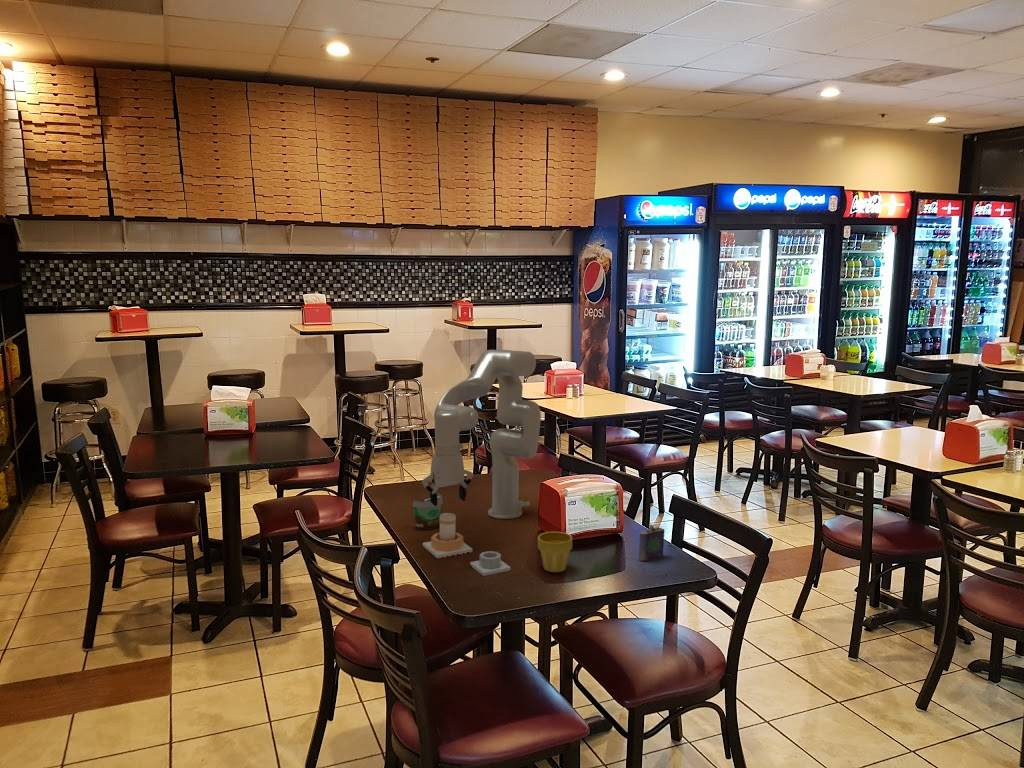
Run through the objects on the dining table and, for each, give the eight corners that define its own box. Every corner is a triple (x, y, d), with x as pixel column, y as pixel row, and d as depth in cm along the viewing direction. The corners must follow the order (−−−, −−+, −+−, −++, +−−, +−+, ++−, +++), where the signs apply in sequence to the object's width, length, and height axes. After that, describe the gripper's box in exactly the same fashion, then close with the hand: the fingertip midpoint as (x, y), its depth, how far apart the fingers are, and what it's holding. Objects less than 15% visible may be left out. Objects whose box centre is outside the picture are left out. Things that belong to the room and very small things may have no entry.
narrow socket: (496, 560, 230) (496, 547, 229) (510, 570, 222) (510, 557, 222) (470, 565, 226) (470, 552, 225) (483, 576, 218) (483, 563, 217)
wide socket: (456, 539, 247) (456, 528, 246) (472, 551, 237) (472, 539, 236) (422, 545, 241) (422, 534, 241) (437, 558, 231) (437, 546, 230)
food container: (425, 533, 253) (425, 504, 252) (412, 529, 257) (412, 500, 255) (450, 523, 263) (450, 496, 261) (437, 519, 266) (437, 492, 265)
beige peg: (451, 541, 242) (451, 512, 241) (458, 547, 238) (458, 516, 236) (436, 544, 240) (436, 514, 238) (443, 549, 235) (443, 519, 234)
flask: (642, 562, 230) (643, 528, 228) (636, 559, 232) (637, 525, 231) (665, 557, 235) (666, 524, 233) (658, 554, 237) (660, 521, 235)
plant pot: (536, 561, 230) (537, 530, 228) (570, 561, 230) (571, 531, 228) (537, 574, 219) (538, 542, 218) (573, 575, 219) (573, 543, 218)
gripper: (467, 443, 241) (468, 494, 245) (417, 450, 233) (418, 503, 236) (477, 448, 235) (478, 501, 238) (426, 456, 227) (427, 510, 230)
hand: (448, 502), depth 237 cm, fingers open, 9 cm apart
